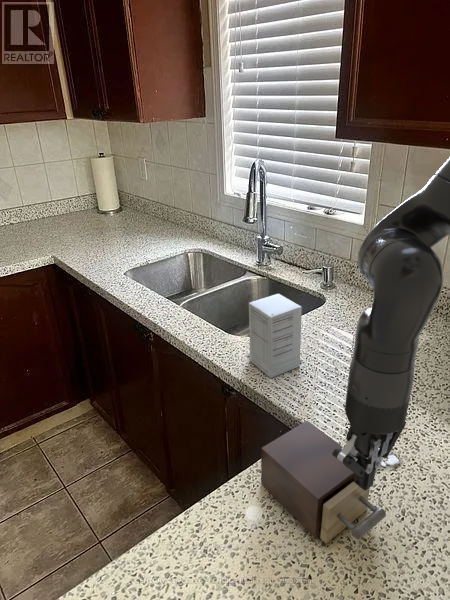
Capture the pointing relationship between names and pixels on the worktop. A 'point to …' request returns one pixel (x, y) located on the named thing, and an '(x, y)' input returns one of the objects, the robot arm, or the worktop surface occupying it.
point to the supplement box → (275, 334)
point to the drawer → (347, 511)
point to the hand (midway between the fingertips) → (363, 484)
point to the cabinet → (303, 472)
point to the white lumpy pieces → (391, 461)
